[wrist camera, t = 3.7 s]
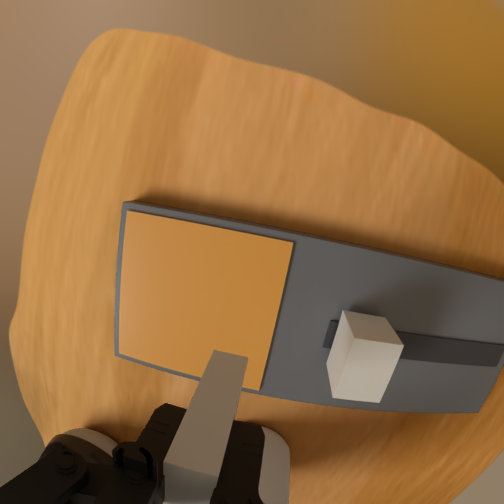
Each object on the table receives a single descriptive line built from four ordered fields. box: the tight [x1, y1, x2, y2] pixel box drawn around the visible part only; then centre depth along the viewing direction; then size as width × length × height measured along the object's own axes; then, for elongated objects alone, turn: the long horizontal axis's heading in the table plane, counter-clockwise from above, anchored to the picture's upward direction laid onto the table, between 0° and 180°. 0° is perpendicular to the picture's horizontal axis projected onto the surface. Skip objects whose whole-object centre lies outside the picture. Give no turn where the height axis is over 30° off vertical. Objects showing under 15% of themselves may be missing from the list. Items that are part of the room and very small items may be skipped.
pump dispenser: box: [37, 428, 119, 465], centre depth 21 cm, size 10×10×15 cm
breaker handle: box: [326, 310, 404, 403], centre depth 18 cm, size 4×3×4 cm
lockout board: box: [114, 200, 504, 413], centre depth 21 cm, size 12×32×2 cm, turn 80°
